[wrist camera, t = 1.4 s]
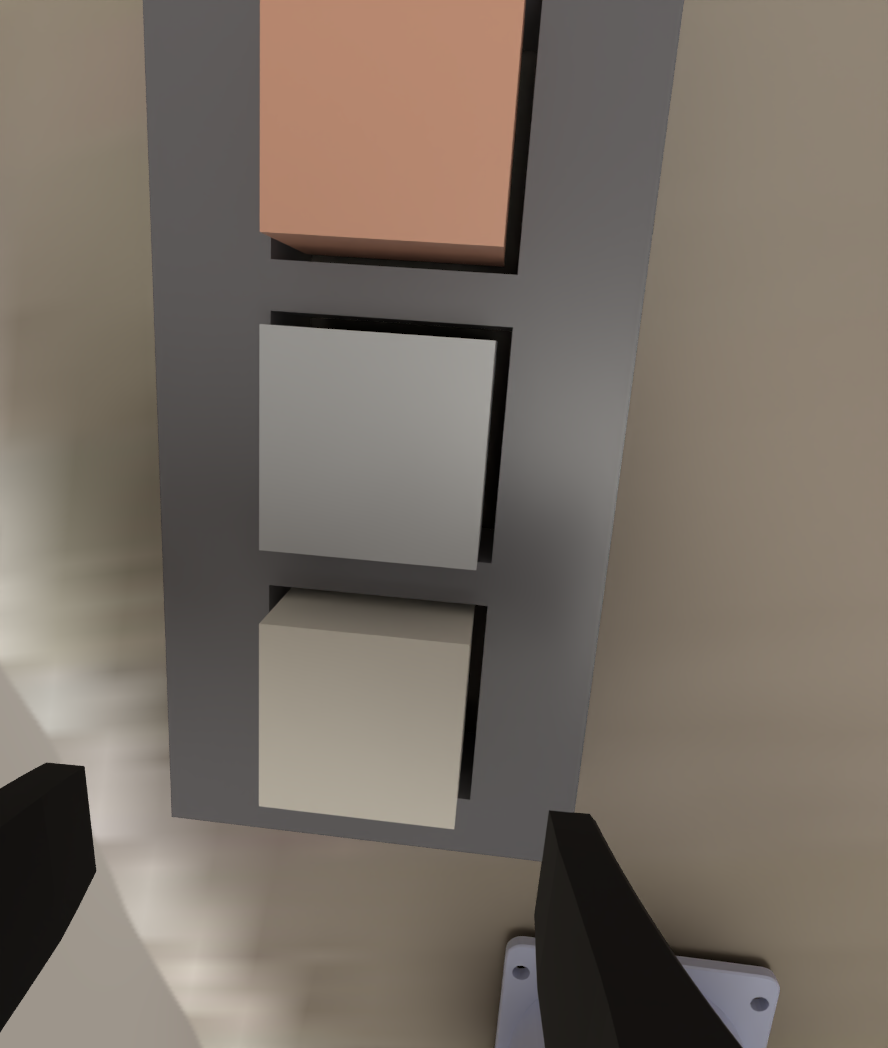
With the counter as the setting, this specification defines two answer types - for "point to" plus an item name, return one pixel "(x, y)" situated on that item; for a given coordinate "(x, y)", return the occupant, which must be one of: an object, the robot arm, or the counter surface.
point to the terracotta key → (389, 126)
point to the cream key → (363, 705)
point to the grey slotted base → (421, 299)
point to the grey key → (373, 444)
